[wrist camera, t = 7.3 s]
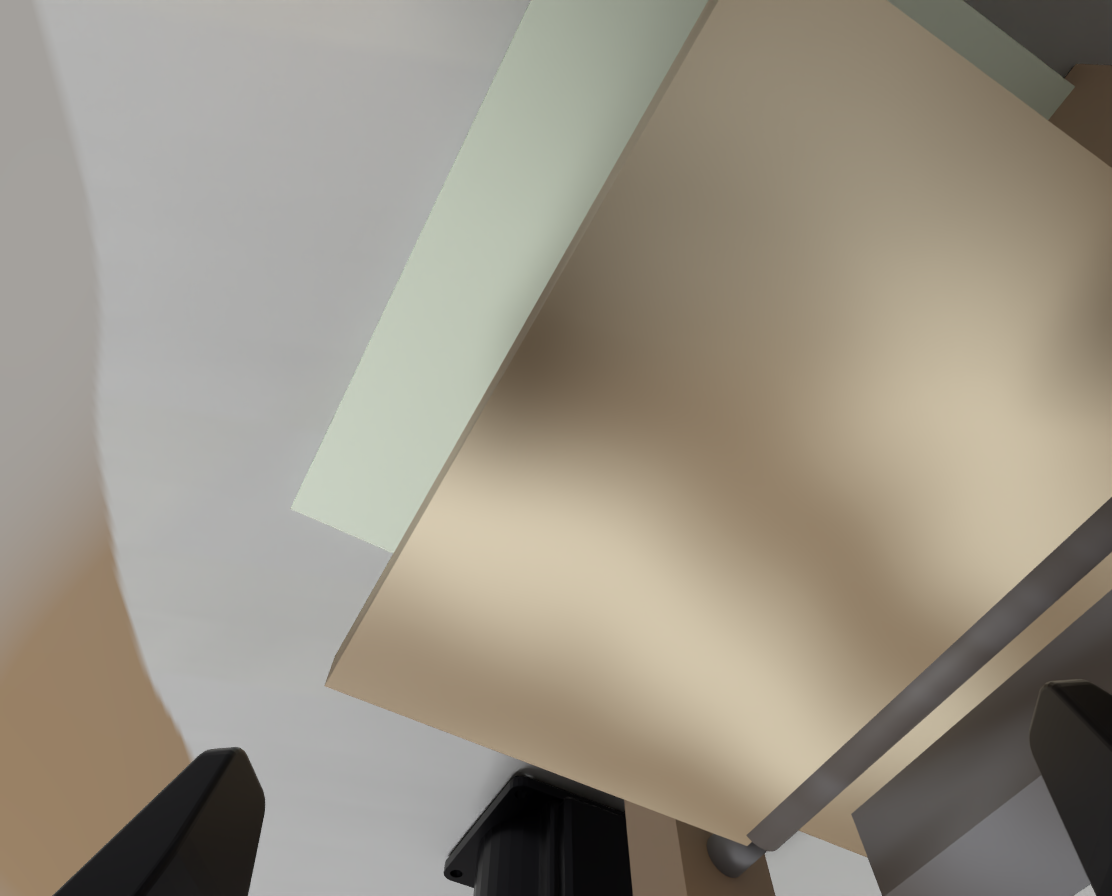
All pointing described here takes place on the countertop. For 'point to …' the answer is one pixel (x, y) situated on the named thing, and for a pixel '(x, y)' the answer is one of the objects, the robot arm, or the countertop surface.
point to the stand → (527, 265)
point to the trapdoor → (792, 466)
